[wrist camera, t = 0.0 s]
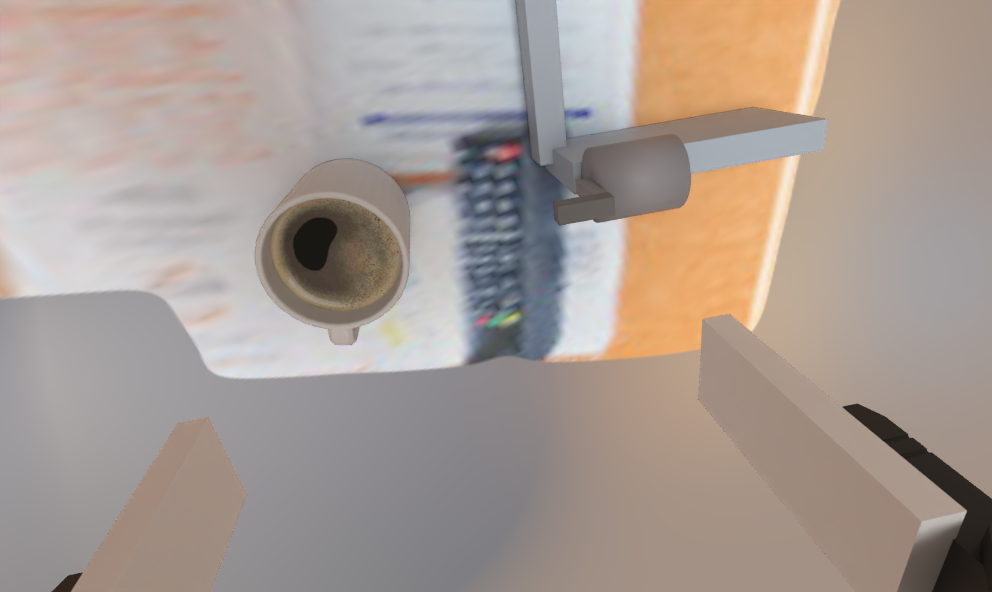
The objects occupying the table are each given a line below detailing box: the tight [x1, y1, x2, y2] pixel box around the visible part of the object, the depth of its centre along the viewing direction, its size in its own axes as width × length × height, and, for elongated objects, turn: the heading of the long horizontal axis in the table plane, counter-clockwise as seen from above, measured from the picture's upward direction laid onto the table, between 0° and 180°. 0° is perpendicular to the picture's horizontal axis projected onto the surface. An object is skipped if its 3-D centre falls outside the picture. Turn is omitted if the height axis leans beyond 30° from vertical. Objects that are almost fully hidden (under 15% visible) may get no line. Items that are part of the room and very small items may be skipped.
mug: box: [255, 159, 410, 345], centre depth 35 cm, size 11×10×10 cm
